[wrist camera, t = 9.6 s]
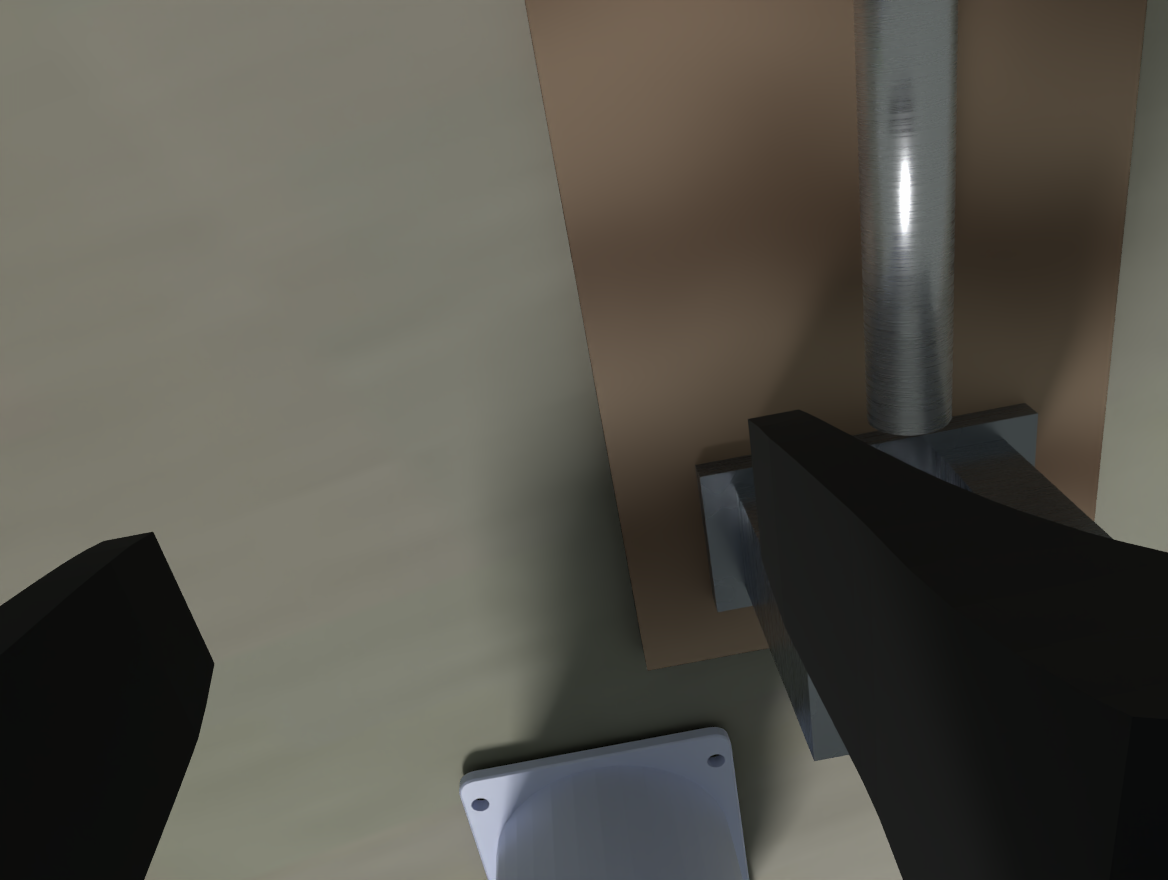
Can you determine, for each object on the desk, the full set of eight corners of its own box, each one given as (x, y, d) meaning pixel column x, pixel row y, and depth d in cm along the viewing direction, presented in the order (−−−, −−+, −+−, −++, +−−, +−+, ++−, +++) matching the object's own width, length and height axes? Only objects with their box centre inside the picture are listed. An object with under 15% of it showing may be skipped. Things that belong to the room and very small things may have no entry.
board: (1071, 571, 25) (1087, 588, 24) (643, 651, 25) (647, 670, 25) (1160, -422, 16) (1192, -441, 15) (472, -286, 16) (470, -299, 15)
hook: (970, 344, 21) (1119, 461, 16) (752, 386, 21) (831, 515, 16) (992, -525, 14) (1262, -807, 9) (672, -462, 14) (764, -707, 9)
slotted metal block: (1017, 541, 24) (1173, 711, 18) (712, 598, 24) (775, 786, 18) (1025, 402, 22) (1202, 546, 16) (695, 465, 22) (759, 629, 16)
